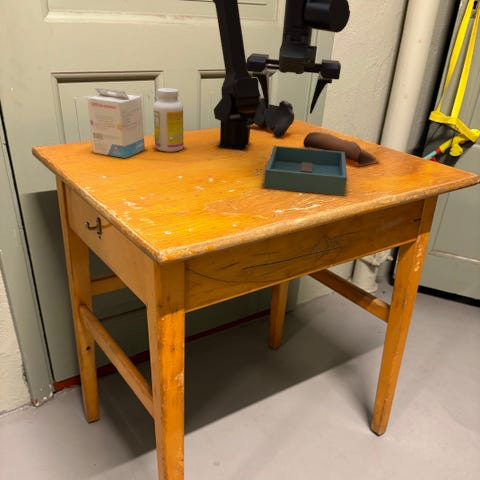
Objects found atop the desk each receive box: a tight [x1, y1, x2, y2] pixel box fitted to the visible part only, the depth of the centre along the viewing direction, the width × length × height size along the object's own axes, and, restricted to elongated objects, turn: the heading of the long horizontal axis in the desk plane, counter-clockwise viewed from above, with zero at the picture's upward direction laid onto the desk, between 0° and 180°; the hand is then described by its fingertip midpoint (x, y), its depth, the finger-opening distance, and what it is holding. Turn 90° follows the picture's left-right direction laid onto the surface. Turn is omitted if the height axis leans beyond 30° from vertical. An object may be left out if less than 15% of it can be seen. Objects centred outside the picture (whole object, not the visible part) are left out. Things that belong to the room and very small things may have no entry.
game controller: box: [248, 96, 295, 139], centre depth 140 cm, size 16×7×10 cm, turn 52°
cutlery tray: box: [263, 145, 348, 197], centre depth 108 cm, size 16×19×4 cm
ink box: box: [87, 87, 146, 159], centre depth 114 cm, size 9×8×13 cm
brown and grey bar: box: [300, 162, 312, 173], centre depth 108 cm, size 12×2×2 cm, turn 172°
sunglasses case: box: [302, 131, 379, 167], centre depth 124 cm, size 18×7×7 cm
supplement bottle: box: [152, 87, 185, 153], centre depth 119 cm, size 7×7×13 cm
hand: (288, 111), depth 110 cm, fingers open, 9 cm apart
